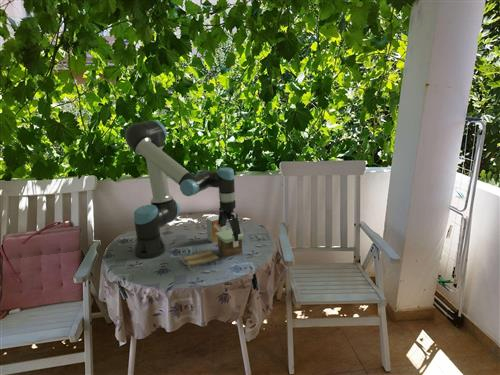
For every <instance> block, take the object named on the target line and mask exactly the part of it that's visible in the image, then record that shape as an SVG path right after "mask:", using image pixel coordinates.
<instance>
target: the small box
mask: <svg viewBox="0 0 500 375" xmlns="http://www.w3.org/2000/svg"><path fill="white" fill-rule="evenodd" d="M218 219H219V214H218V215H217V214H216V215H213V216H210V217H206V219H205V220H206V233H207V241H210V242H211V243H212V244H213V243H218V237H216V236H215V233H217V232H221V227H220V224H218Z"/></svg>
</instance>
